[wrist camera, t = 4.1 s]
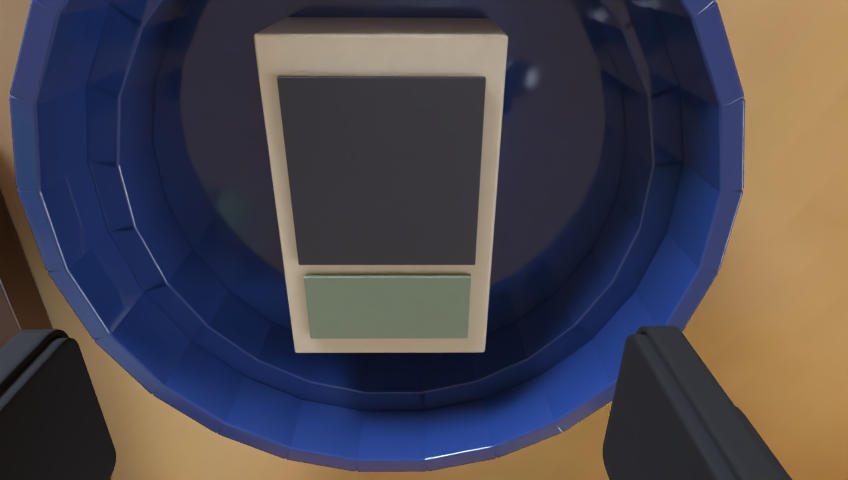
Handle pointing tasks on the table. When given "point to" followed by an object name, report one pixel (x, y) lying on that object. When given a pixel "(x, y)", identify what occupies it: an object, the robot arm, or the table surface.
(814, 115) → the table surface
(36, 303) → the board
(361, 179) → the calculator
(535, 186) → the bowl
